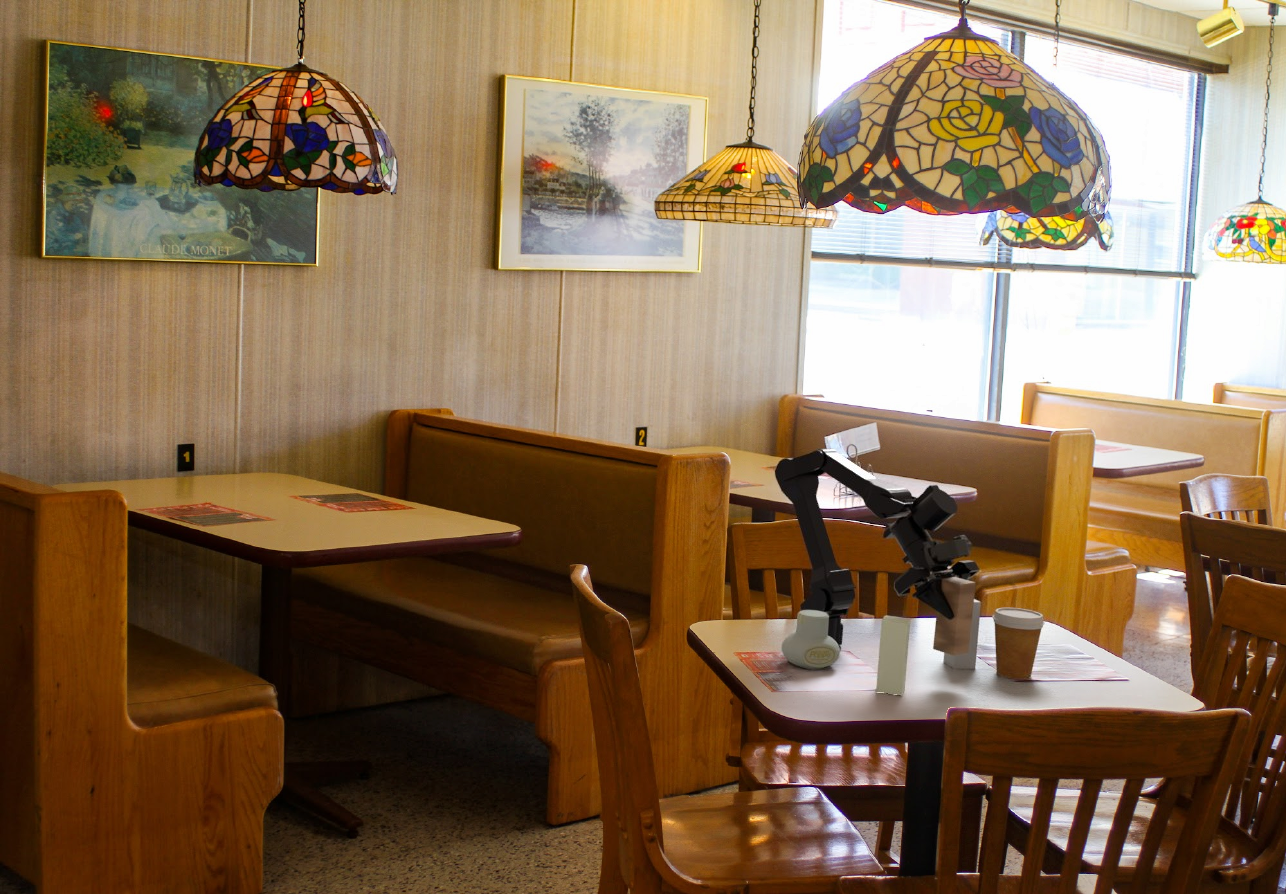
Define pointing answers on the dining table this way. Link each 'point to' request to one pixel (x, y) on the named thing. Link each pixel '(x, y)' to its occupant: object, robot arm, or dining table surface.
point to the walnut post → (955, 617)
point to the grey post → (969, 658)
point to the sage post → (893, 655)
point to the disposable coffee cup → (1016, 641)
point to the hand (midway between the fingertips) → (960, 617)
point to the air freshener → (811, 642)
